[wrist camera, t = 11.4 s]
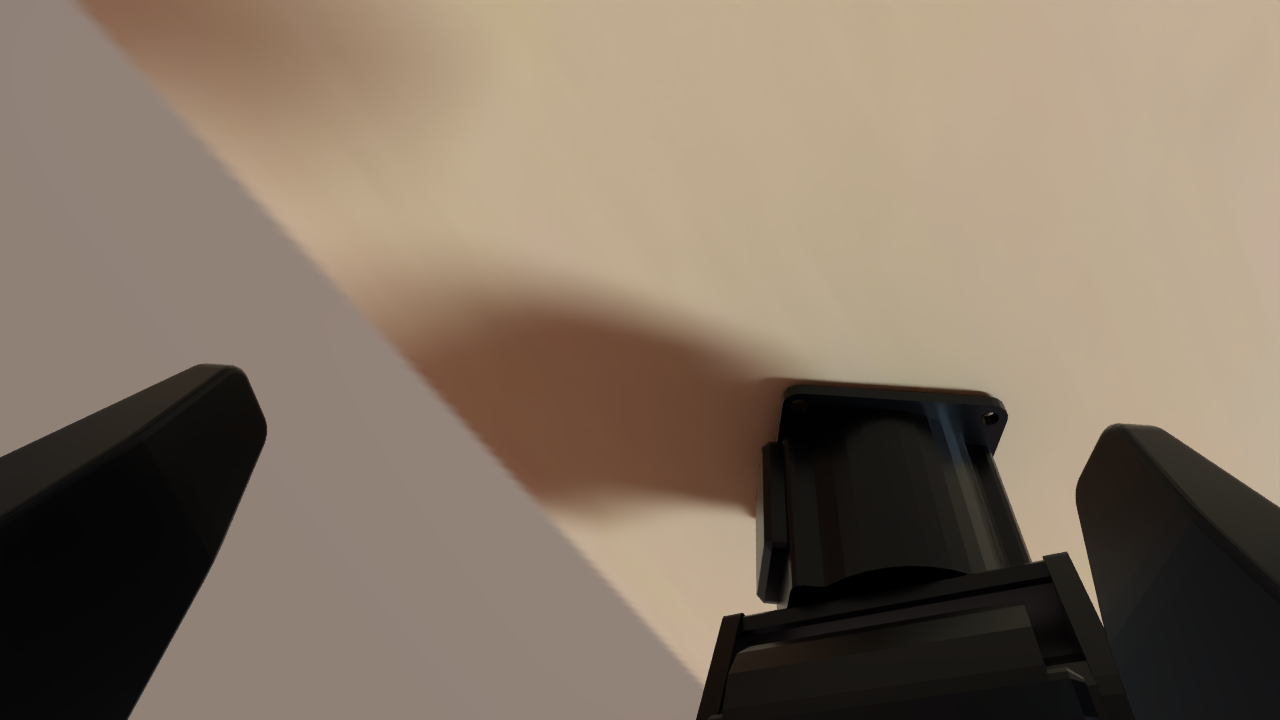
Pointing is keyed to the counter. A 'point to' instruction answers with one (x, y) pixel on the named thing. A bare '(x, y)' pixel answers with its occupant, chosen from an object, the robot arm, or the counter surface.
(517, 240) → the counter surface
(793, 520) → the robot arm
